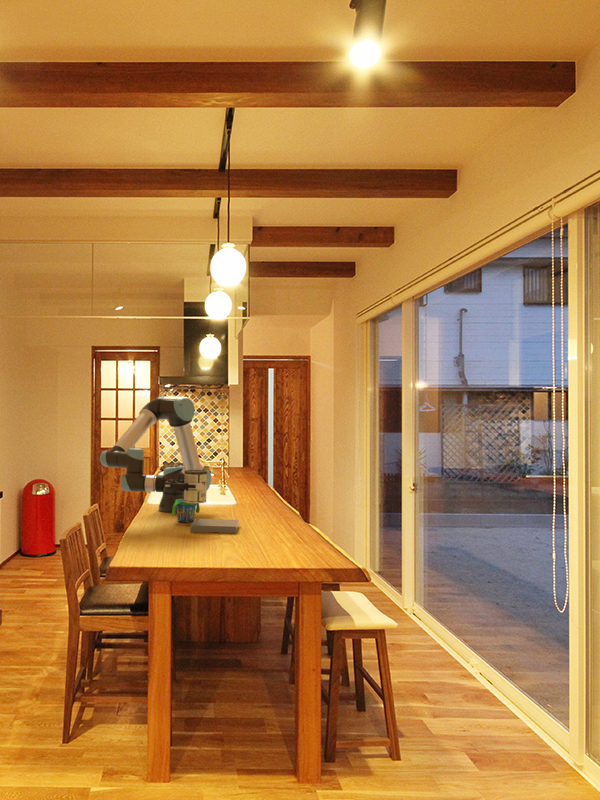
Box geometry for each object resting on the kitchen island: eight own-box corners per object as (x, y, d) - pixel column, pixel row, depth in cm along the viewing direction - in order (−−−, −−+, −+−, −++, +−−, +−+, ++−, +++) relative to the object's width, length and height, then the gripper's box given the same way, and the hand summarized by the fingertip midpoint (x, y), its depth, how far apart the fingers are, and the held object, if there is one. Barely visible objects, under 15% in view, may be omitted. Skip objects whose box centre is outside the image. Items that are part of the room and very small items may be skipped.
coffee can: (187, 499, 308) (188, 469, 308) (208, 500, 307) (209, 470, 307) (180, 502, 298) (181, 471, 298) (202, 504, 297) (204, 472, 297)
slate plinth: (195, 525, 312) (195, 518, 312) (238, 526, 312) (238, 519, 312) (190, 532, 294) (190, 525, 294) (236, 533, 294) (236, 526, 294)
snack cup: (192, 518, 331) (193, 497, 331) (205, 521, 323) (206, 500, 323) (165, 521, 320) (166, 499, 320) (178, 524, 312) (178, 502, 312)
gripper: (160, 488, 314) (207, 490, 314) (150, 495, 291) (201, 496, 291) (161, 472, 314) (208, 474, 314) (151, 477, 291) (201, 479, 291)
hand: (205, 485), depth 303 cm, fingers closed on coffee can, 10 cm apart
